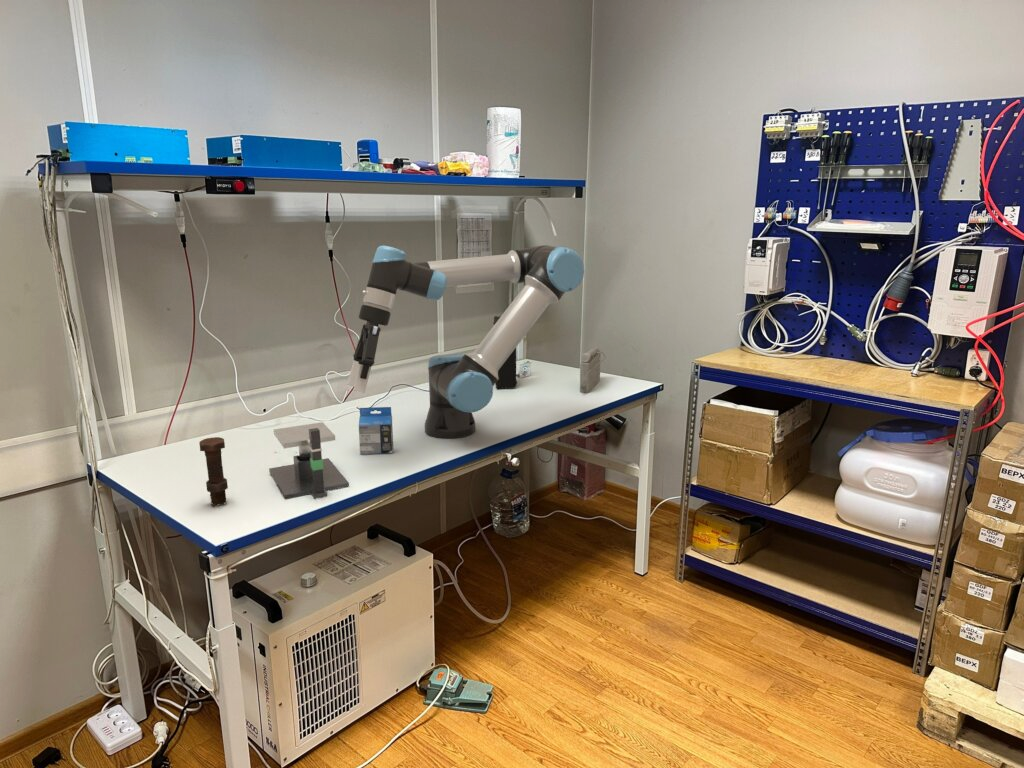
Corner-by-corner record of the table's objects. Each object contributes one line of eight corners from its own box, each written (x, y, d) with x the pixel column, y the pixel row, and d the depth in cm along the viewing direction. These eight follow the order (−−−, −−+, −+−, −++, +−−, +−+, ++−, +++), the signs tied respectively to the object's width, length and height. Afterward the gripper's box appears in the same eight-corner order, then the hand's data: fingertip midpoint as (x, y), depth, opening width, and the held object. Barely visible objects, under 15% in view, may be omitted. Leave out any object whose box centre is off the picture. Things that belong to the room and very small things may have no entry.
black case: (492, 379, 267) (491, 315, 260) (514, 379, 267) (514, 314, 261) (493, 390, 252) (493, 322, 245) (517, 389, 252) (517, 321, 246)
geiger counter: (590, 343, 263) (573, 357, 240) (606, 344, 261) (591, 358, 238) (589, 379, 267) (573, 395, 244) (606, 380, 264) (590, 397, 242)
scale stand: (328, 461, 182) (324, 403, 178) (352, 490, 163) (348, 426, 159) (269, 472, 175) (263, 411, 171) (287, 504, 156) (281, 436, 152)
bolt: (206, 500, 158) (198, 438, 155) (230, 496, 160) (223, 435, 157) (207, 510, 153) (199, 446, 149) (231, 506, 155) (224, 443, 152)
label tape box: (359, 455, 187) (357, 411, 184) (361, 449, 191) (359, 407, 188) (392, 454, 188) (390, 410, 184) (393, 449, 192) (391, 406, 188)
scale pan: (324, 447, 177) (322, 422, 176) (341, 467, 164) (339, 440, 162) (276, 455, 172) (273, 429, 170) (289, 476, 158) (287, 448, 157)
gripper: (356, 303, 185) (336, 380, 185) (368, 302, 162) (346, 390, 162) (383, 311, 188) (363, 387, 188) (399, 311, 164) (377, 397, 165)
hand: (355, 388), depth 175 cm, fingers open, 13 cm apart
